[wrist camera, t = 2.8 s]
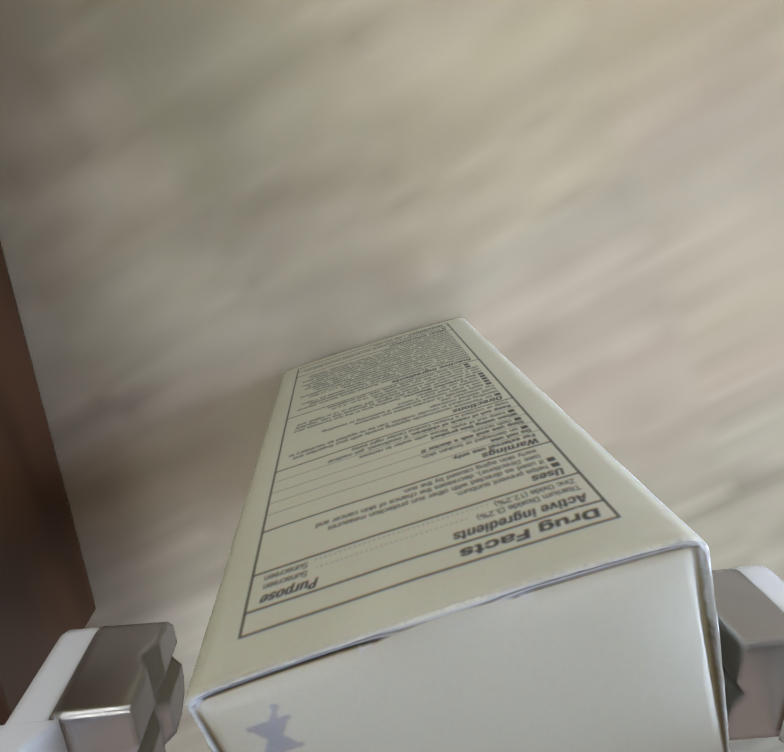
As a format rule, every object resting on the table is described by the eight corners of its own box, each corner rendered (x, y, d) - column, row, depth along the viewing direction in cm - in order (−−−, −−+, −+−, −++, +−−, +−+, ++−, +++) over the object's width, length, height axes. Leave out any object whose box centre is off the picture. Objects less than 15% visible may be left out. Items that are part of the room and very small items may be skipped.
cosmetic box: (324, 481, 19) (295, 936, 7) (279, 363, 17) (154, 707, 6) (500, 427, 19) (746, 805, 7) (469, 305, 17) (719, 538, 6)
